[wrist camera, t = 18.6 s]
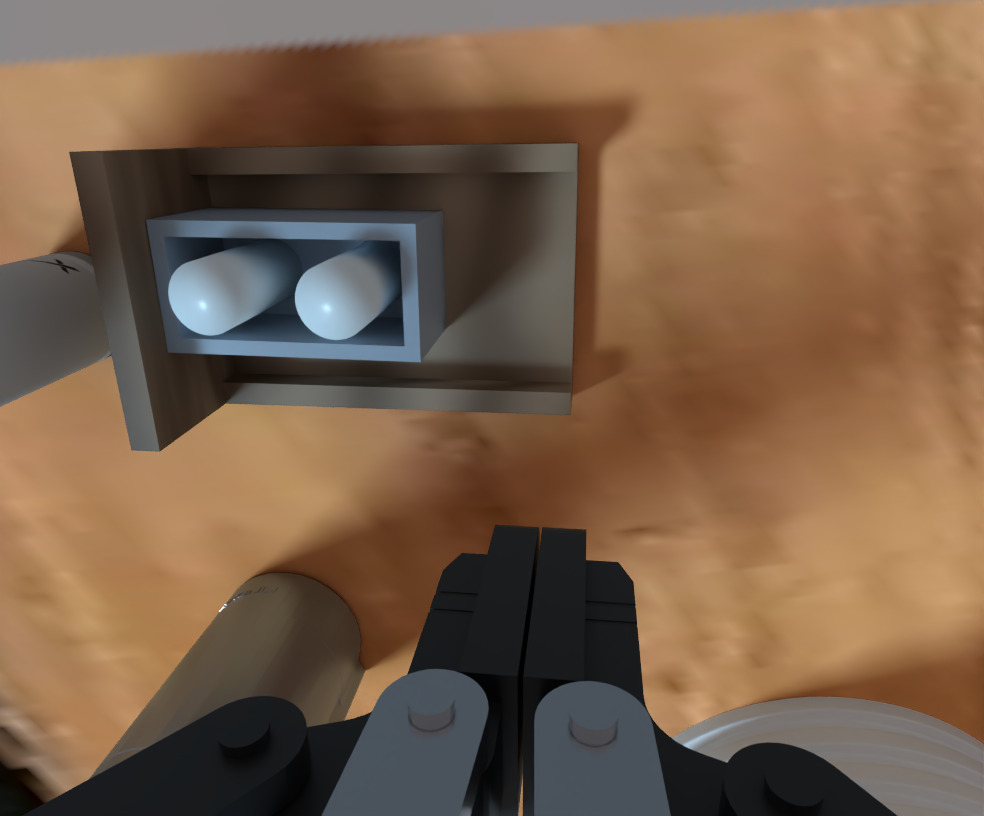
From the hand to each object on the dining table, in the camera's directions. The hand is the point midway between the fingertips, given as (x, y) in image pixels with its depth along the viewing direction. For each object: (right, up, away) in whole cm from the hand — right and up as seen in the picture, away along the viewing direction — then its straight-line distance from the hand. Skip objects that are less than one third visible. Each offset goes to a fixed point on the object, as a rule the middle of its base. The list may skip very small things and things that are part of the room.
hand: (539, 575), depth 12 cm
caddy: (-9, +10, +25) cm, 29 cm away
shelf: (-6, +10, +26) cm, 29 cm away
